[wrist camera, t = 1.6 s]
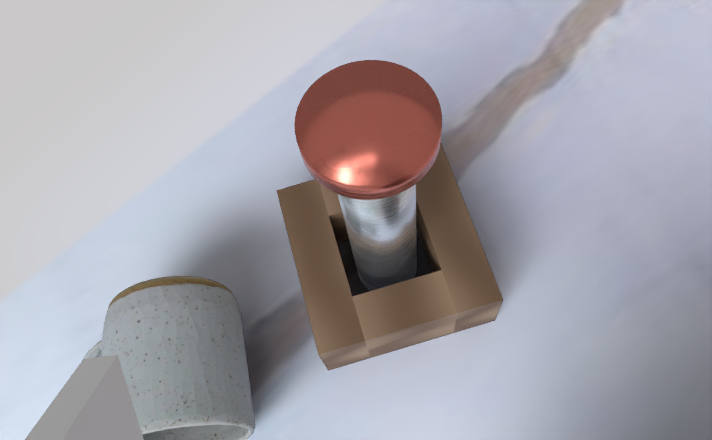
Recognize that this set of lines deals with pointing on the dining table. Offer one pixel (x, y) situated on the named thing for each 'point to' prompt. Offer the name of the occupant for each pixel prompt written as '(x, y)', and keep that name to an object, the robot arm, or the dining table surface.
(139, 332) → the ceramic mug
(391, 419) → the dining table surface
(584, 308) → the dining table surface
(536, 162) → the dining table surface
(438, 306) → the eye block
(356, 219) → the red-capped mushroom
